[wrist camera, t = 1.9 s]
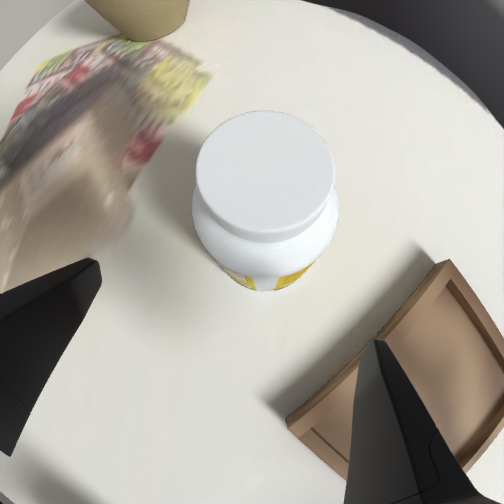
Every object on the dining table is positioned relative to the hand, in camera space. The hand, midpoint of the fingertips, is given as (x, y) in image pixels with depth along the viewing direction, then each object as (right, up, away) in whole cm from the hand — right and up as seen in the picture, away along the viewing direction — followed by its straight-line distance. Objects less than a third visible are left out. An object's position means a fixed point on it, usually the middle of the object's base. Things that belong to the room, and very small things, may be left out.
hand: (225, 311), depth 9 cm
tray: (+14, -10, +9) cm, 20 cm away
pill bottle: (+2, +2, +12) cm, 13 cm away
